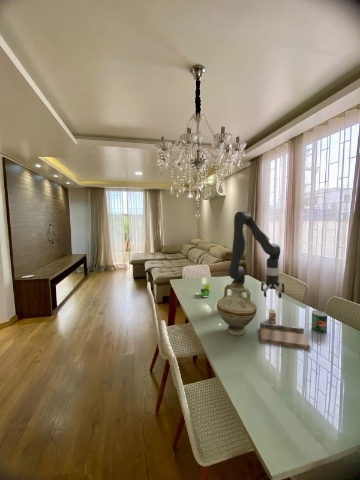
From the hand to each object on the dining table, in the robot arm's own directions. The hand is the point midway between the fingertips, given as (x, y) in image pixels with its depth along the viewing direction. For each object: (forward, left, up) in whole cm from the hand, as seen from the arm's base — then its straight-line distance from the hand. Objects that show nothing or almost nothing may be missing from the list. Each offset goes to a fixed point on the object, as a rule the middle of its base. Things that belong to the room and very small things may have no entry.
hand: (272, 297), depth 140 cm
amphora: (-22, -20, -17) cm, 34 cm away
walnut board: (+4, -20, -16) cm, 26 cm away
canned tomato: (+26, -5, -17) cm, 31 cm away
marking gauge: (0, -3, -16) cm, 17 cm away
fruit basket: (-54, +36, -17) cm, 67 cm away
